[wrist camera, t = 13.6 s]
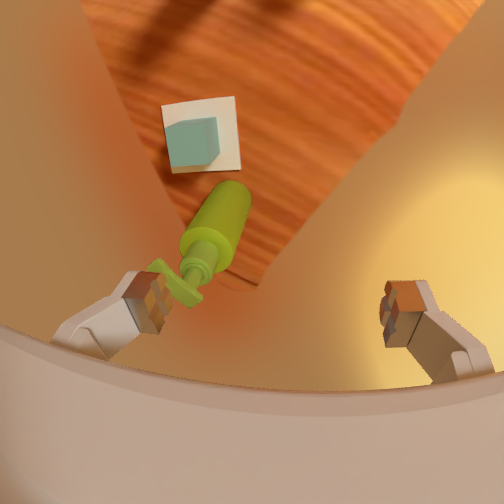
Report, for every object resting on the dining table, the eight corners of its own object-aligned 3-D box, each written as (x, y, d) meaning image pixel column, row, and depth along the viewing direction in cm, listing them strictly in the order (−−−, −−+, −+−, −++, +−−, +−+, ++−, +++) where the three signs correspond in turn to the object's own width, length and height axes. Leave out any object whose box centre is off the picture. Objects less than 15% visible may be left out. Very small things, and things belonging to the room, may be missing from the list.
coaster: (162, 105, 34) (161, 106, 33) (234, 96, 32) (234, 96, 32) (173, 172, 39) (172, 173, 39) (241, 168, 38) (240, 169, 37)
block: (180, 120, 34) (164, 128, 30) (216, 116, 34) (204, 123, 30) (185, 155, 37) (171, 167, 33) (220, 152, 36) (209, 164, 32)
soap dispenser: (226, 166, 38) (167, 249, 22) (260, 202, 40) (230, 303, 24) (198, 192, 41) (133, 282, 24) (231, 224, 43) (189, 327, 27)
